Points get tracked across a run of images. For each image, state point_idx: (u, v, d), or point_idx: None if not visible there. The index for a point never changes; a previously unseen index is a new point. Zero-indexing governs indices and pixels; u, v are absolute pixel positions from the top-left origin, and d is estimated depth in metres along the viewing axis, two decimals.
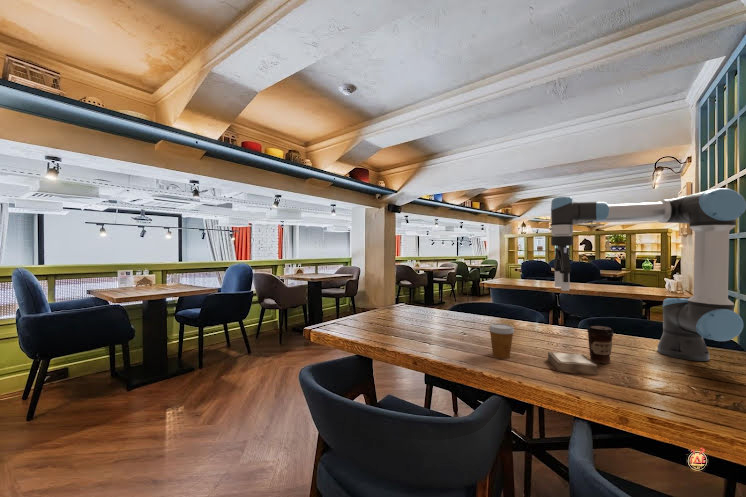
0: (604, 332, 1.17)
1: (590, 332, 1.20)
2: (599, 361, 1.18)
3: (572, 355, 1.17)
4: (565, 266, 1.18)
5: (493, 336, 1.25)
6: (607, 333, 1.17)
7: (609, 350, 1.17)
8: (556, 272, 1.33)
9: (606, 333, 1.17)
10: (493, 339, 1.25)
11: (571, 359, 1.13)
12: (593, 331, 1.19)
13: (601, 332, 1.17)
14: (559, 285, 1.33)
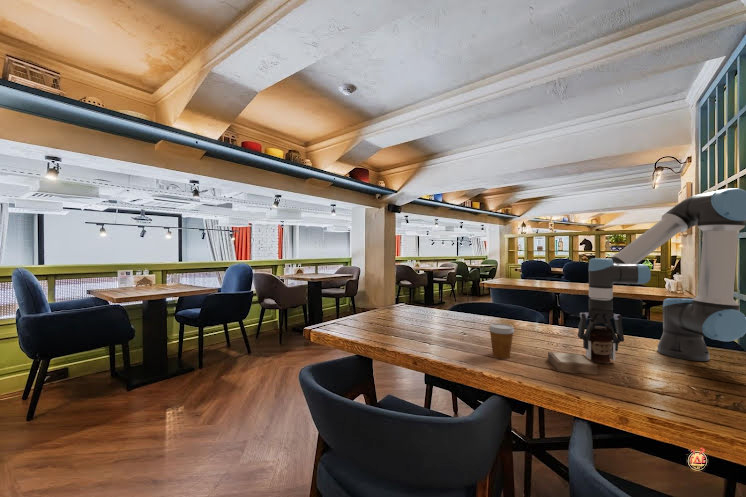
0: (604, 332, 1.17)
1: (590, 332, 1.20)
2: (599, 361, 1.18)
3: (572, 355, 1.17)
4: (578, 332, 1.23)
5: (493, 336, 1.25)
6: (607, 333, 1.17)
7: (609, 350, 1.17)
8: None
9: (606, 333, 1.17)
10: (493, 339, 1.25)
11: (571, 359, 1.13)
12: (593, 331, 1.19)
13: (601, 332, 1.17)
14: (611, 358, 1.19)
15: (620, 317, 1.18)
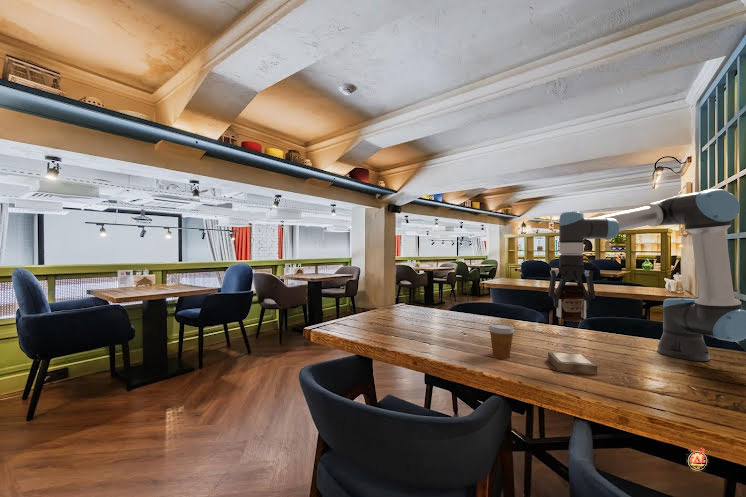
0: (574, 288, 1.11)
1: None
2: (569, 319, 1.13)
3: (572, 355, 1.17)
4: (549, 290, 1.17)
5: (493, 336, 1.25)
6: (577, 289, 1.11)
7: (579, 307, 1.12)
8: None
9: (576, 289, 1.11)
10: (493, 339, 1.25)
11: (571, 359, 1.13)
12: (563, 288, 1.14)
13: (571, 288, 1.12)
14: (582, 316, 1.14)
15: (591, 273, 1.12)
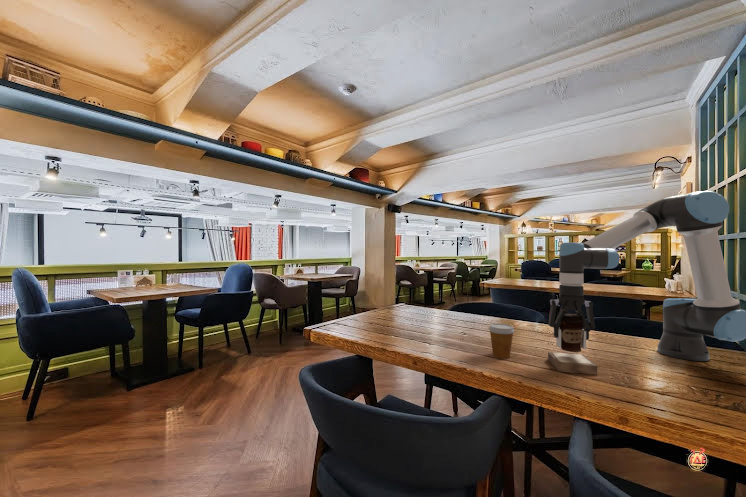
0: (574, 319, 1.11)
1: None
2: (569, 350, 1.13)
3: (572, 355, 1.17)
4: (549, 320, 1.17)
5: (493, 336, 1.25)
6: (577, 320, 1.11)
7: (579, 338, 1.12)
8: None
9: (576, 320, 1.11)
10: (493, 339, 1.25)
11: (571, 359, 1.13)
12: (563, 318, 1.14)
13: (571, 319, 1.12)
14: (582, 346, 1.14)
15: (591, 304, 1.12)
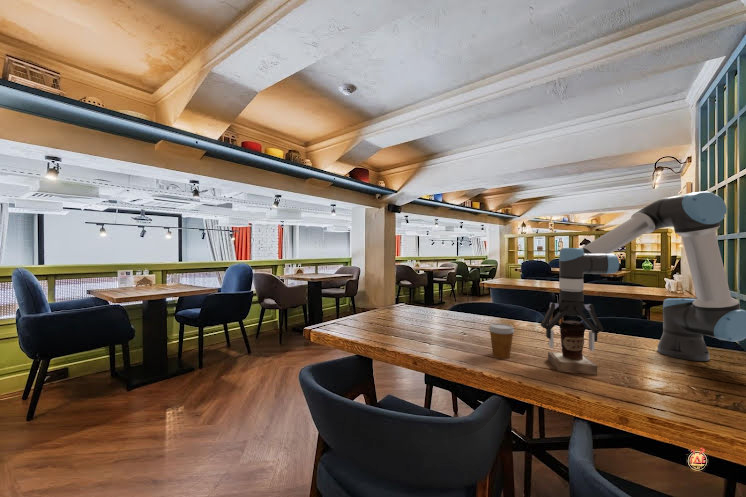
0: (576, 327, 1.11)
1: (562, 327, 1.15)
2: (571, 357, 1.13)
3: None
4: (543, 321, 1.18)
5: (493, 336, 1.25)
6: (579, 328, 1.11)
7: (581, 346, 1.12)
8: (589, 332, 1.14)
9: (578, 328, 1.11)
10: (493, 339, 1.25)
11: (571, 359, 1.13)
12: (565, 326, 1.14)
13: (572, 327, 1.12)
14: (590, 348, 1.13)
15: (591, 307, 1.12)
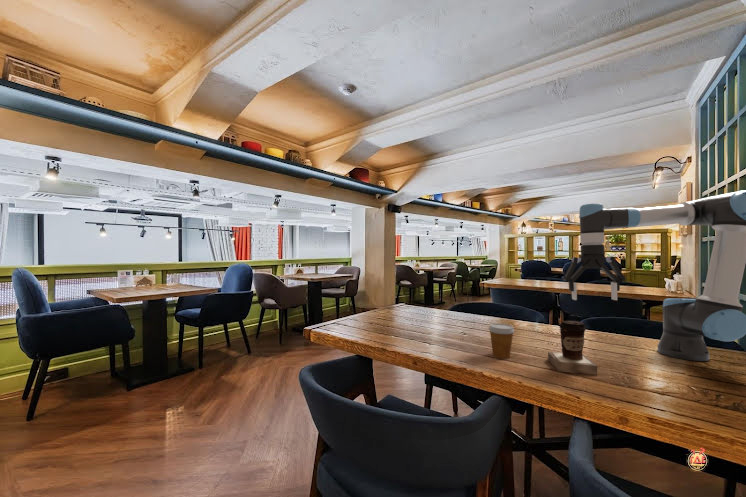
0: (576, 327, 1.11)
1: (562, 327, 1.15)
2: (571, 357, 1.13)
3: None
4: (565, 275, 1.23)
5: (493, 336, 1.25)
6: (579, 328, 1.11)
7: (581, 346, 1.12)
8: (611, 283, 1.20)
9: (578, 328, 1.11)
10: (493, 339, 1.25)
11: (571, 359, 1.13)
12: (565, 326, 1.14)
13: (573, 327, 1.12)
14: (613, 298, 1.19)
15: (612, 258, 1.18)
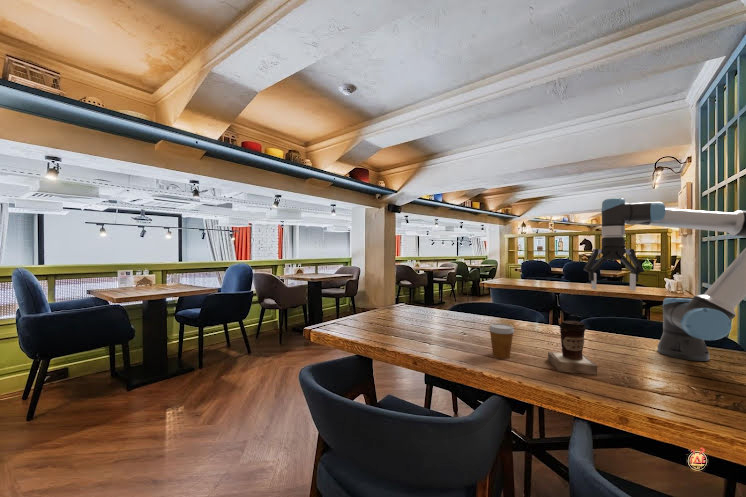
0: (576, 327, 1.11)
1: (562, 327, 1.15)
2: (571, 357, 1.13)
3: None
4: (586, 265, 1.30)
5: (493, 336, 1.25)
6: (579, 328, 1.11)
7: (581, 346, 1.12)
8: (630, 274, 1.27)
9: (578, 328, 1.11)
10: (493, 339, 1.25)
11: (571, 359, 1.13)
12: (565, 326, 1.14)
13: (573, 327, 1.12)
14: (631, 288, 1.26)
15: (632, 250, 1.25)
